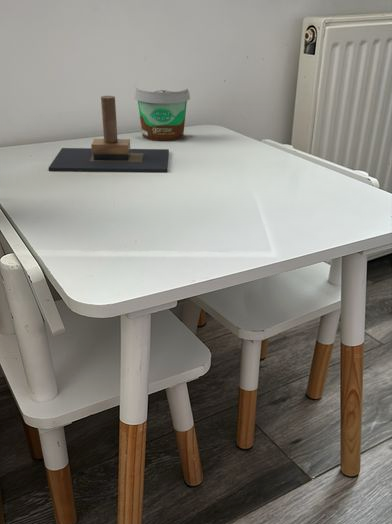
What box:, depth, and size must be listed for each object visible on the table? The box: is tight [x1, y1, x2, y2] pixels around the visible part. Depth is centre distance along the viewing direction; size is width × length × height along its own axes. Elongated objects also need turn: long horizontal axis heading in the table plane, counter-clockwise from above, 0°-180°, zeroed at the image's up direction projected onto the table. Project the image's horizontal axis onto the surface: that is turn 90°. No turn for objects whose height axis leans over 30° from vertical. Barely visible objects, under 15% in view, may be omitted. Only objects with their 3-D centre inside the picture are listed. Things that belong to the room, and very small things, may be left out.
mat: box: [47, 147, 170, 173], centre depth 109 cm, size 22×14×1 cm, turn 91°
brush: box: [90, 95, 131, 161], centre depth 106 cm, size 7×4×11 cm, turn 91°
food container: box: [134, 87, 191, 142], centre depth 122 cm, size 12×6×10 cm, turn 104°
